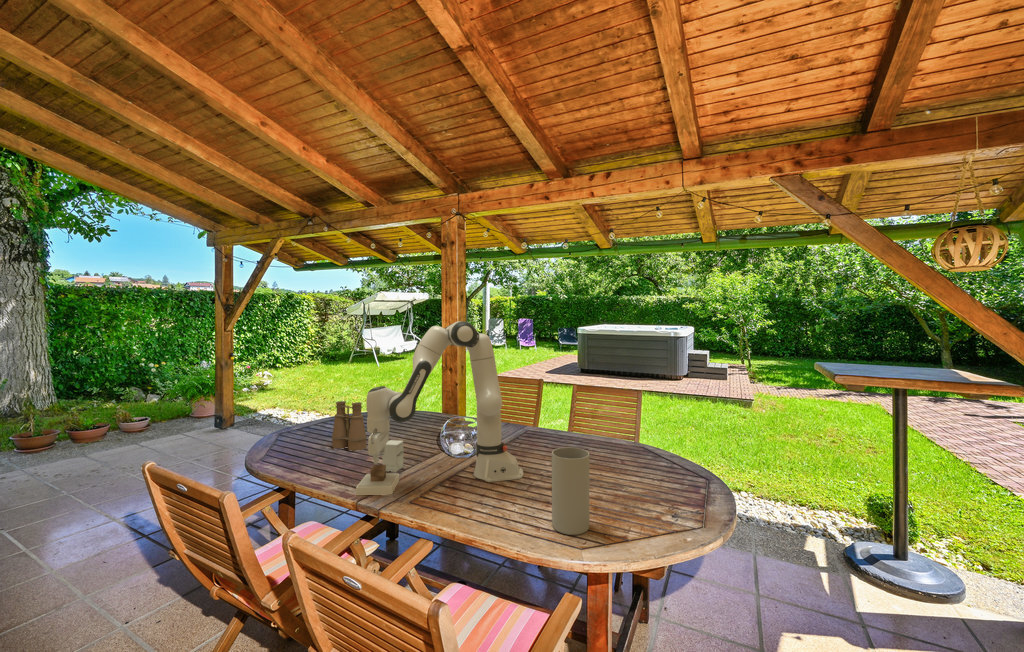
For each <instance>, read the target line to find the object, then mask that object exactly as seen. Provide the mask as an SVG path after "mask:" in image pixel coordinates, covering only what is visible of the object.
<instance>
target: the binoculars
mask: <svg viewBox="0 0 1024 652" xmlns="http://www.w3.org/2000/svg"><path fill="white" fill-rule="evenodd" d="M346 403H347V401H345V400H340V401H335V404H336V405H335V408H336V414H334V422H333V429H332V435H331V436H330V437H331V439H332V440H331V441H332V442H331V443H332V444H331V445H332V447H334V448H345V447H348V448H347V450H348V449H349V450H352V451H356V450H362V449H364V448H366V449H367V437H368V436H367V433H366V427H365V422H364V415H363V414H362V408H363V406H362V405H363V402H359V401H357V402H356V401H355V402H352V403H351V406H350V405H346ZM350 409H351V410H352V412H351V413H352V415H350ZM332 447H331V448H332Z"/></svg>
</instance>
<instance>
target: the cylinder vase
mask: <svg viewBox="0 0 1024 652" xmlns="http://www.w3.org/2000/svg"><path fill="white" fill-rule="evenodd" d="M551 526H552V528H553V529H554V530H555V531H557V532H559V533H561V534H564V535H568V536H577V535H578V536H579V535H582V534H585V533H586V532H587V531H588V530H589V528H590V452H589V451H588V450H586V449H583V448H579V447H568V446H567V447H558V448H555V449H553V450H552V451H551Z"/></svg>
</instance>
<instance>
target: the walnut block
mask: <svg viewBox="0 0 1024 652" xmlns="http://www.w3.org/2000/svg"><path fill="white" fill-rule="evenodd" d="M386 473H387V471H386V465H382V464H374V465H372V467H371V469H370V474H371V482H372V481H384V479H385V478H386Z"/></svg>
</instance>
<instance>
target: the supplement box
mask: <svg viewBox="0 0 1024 652" xmlns="http://www.w3.org/2000/svg"><path fill="white" fill-rule="evenodd" d="M381 457H382V458H381V459H382V460H381V461H382V463H381V465H386V472H389V471H391V472H390V473H398V471H400V470H401V469H403V468H404V440H399V439H398V440H394V439H390V440H388V442H387V443H386V445H385V454H384V456H381Z"/></svg>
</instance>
